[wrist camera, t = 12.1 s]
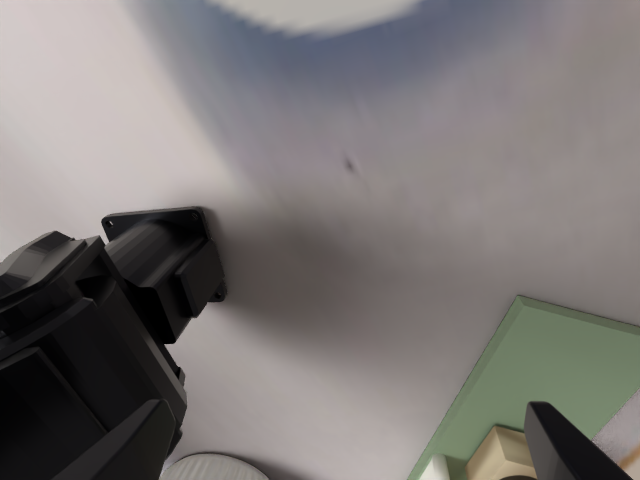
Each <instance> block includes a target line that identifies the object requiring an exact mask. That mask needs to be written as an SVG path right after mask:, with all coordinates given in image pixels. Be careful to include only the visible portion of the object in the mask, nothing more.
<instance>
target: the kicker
mask: <svg viewBox="0 0 640 480" xmlns="http://www.w3.org/2000/svg"><path fill="white" fill-rule="evenodd" d="M465 472H466V477H467V480H538V479H537V476H536V472H535V469H534V465H533V462H532V458H531V455H530V451H529V448H528V444H527V441H526V437H525V434H524V433H520V432H517V431H513V430H509V429H505V428H501V427H498V426H494V427H493V428H492V430H491V431H490V432H489V434H488V435H487V437H486V438H485V439H484V441H483V442H482V444H481V445H480V446H479V448H478V449H477V451H476V452H475V453H474V455H473V456H472V458H471V459H470V461H469V462H468V463H467V465H466V466H465Z"/></svg>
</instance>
